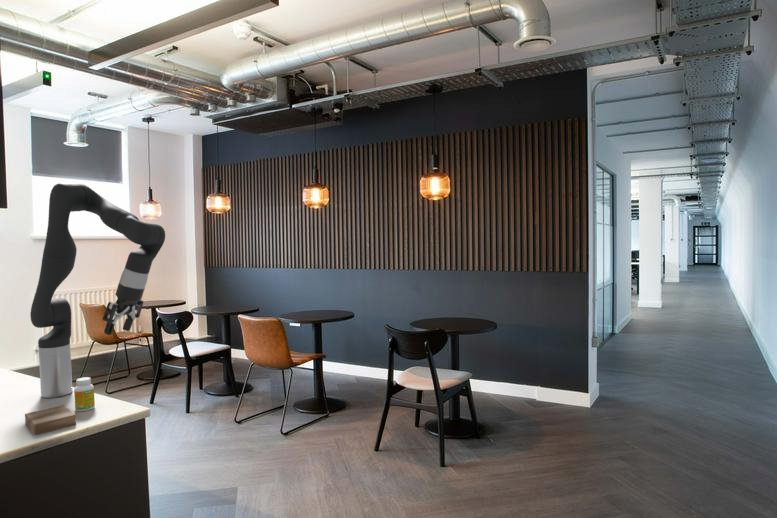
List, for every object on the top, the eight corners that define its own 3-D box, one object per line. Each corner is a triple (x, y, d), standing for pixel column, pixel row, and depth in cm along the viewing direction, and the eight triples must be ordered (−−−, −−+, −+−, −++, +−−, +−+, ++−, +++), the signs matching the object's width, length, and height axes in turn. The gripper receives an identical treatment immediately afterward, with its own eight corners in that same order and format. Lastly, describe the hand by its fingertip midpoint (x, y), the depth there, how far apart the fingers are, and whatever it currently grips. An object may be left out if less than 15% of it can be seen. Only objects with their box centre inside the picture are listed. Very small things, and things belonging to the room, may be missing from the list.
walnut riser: (25, 423, 150) (24, 413, 150) (64, 414, 157) (63, 405, 157) (35, 435, 142) (35, 424, 141) (76, 424, 149) (75, 414, 149)
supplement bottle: (85, 412, 159) (84, 381, 158) (71, 411, 160) (69, 381, 159) (98, 406, 164) (97, 376, 164) (84, 405, 165) (83, 376, 165)
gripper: (136, 279, 167) (121, 325, 168) (106, 280, 153) (90, 331, 153) (156, 286, 166) (141, 333, 166) (127, 289, 152) (111, 339, 152)
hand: (117, 332), depth 160 cm, fingers open, 8 cm apart
